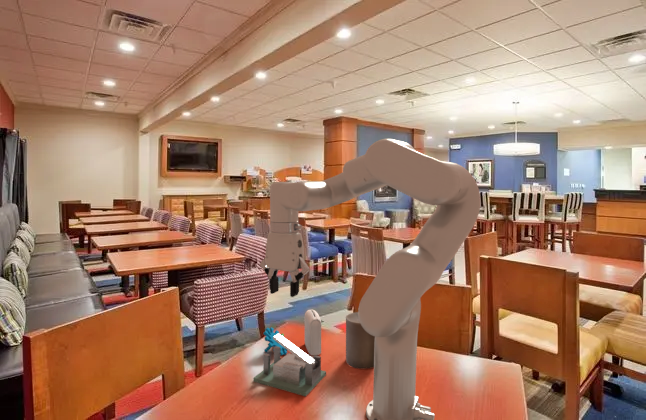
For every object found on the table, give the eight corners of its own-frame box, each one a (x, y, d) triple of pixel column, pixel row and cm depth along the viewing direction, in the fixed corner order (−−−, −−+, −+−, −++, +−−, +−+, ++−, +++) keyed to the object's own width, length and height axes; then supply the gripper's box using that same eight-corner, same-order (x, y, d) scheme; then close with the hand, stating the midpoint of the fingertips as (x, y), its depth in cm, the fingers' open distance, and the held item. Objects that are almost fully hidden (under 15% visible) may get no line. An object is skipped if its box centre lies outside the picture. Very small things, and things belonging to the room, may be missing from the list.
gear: (281, 356, 115) (261, 329, 117) (268, 369, 116) (248, 342, 118) (295, 346, 125) (276, 322, 128) (282, 358, 126) (264, 333, 129)
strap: (316, 364, 104) (318, 361, 103) (311, 370, 101) (313, 366, 101) (278, 335, 109) (279, 332, 108) (271, 339, 106) (273, 336, 105)
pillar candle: (384, 361, 116) (384, 312, 115) (364, 373, 109) (364, 321, 108) (358, 351, 123) (359, 305, 122) (338, 362, 116) (338, 313, 115)
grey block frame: (323, 374, 106) (323, 354, 105) (309, 388, 99) (309, 367, 98) (277, 363, 112) (277, 344, 112) (261, 375, 105) (261, 355, 105)
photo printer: (303, 342, 129) (303, 306, 128) (315, 341, 130) (316, 305, 129) (309, 356, 119) (309, 317, 118) (322, 355, 120) (322, 316, 119)
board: (326, 374, 108) (326, 371, 108) (305, 396, 97) (305, 392, 97) (277, 362, 115) (277, 359, 115) (253, 381, 104) (253, 377, 104)
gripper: (319, 228, 103) (318, 294, 104) (265, 224, 110) (265, 286, 112) (305, 231, 96) (305, 302, 98) (249, 227, 104) (250, 293, 105)
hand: (284, 293), depth 105 cm, fingers open, 5 cm apart
